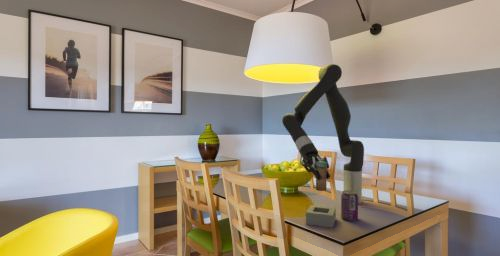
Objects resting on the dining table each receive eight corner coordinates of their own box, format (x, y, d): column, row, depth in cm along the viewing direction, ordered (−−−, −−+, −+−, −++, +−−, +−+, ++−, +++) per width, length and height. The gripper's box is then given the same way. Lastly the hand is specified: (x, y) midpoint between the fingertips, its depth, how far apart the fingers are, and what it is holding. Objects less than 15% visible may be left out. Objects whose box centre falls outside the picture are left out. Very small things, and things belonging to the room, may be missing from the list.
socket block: (310, 215, 129) (310, 205, 129) (335, 219, 125) (335, 207, 124) (305, 224, 119) (305, 212, 119) (332, 227, 114) (332, 215, 114)
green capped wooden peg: (316, 188, 124) (316, 161, 124) (327, 189, 123) (327, 161, 122) (314, 190, 120) (315, 162, 120) (325, 191, 118) (325, 163, 118)
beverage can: (360, 218, 125) (360, 191, 125) (354, 222, 120) (354, 195, 120) (345, 215, 130) (345, 189, 130) (338, 219, 125) (338, 192, 124)
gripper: (297, 143, 124) (315, 174, 114) (321, 142, 131) (341, 171, 120) (290, 153, 129) (307, 185, 119) (314, 152, 136) (332, 181, 125)
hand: (324, 178), depth 120 cm, fingers closed on green capped wooden peg, 4 cm apart
